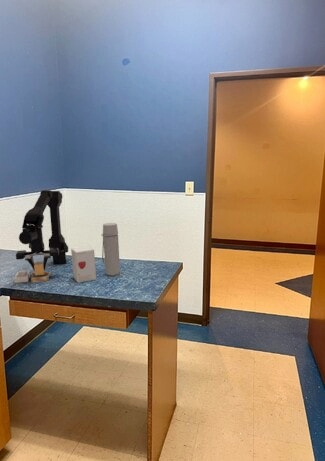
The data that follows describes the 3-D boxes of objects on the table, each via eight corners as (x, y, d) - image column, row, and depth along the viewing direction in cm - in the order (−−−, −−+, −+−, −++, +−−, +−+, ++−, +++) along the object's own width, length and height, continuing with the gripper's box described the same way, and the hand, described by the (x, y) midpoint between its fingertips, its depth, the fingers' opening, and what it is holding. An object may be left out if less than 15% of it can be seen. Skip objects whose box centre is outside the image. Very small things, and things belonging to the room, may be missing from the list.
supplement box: (77, 283, 153) (74, 252, 150) (73, 277, 161) (70, 247, 158) (96, 279, 157) (94, 249, 154) (91, 274, 165) (89, 244, 162)
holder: (49, 275, 165) (49, 271, 164) (48, 280, 157) (47, 276, 157) (33, 276, 163) (32, 273, 162) (31, 282, 155) (30, 278, 155)
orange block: (44, 271, 162) (43, 261, 161) (44, 274, 158) (43, 264, 157) (36, 272, 161) (35, 262, 160) (35, 275, 157) (34, 265, 156)
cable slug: (27, 277, 163) (26, 270, 162) (25, 280, 158) (25, 273, 157) (20, 277, 162) (19, 271, 161) (19, 281, 157) (18, 274, 157)
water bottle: (123, 272, 166) (120, 223, 161) (114, 277, 160) (111, 226, 154) (108, 269, 170) (105, 222, 165) (99, 274, 163) (95, 225, 158)
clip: (30, 275, 164) (29, 271, 164) (28, 281, 157) (27, 276, 156) (17, 277, 163) (16, 272, 162) (14, 282, 155) (14, 277, 155)
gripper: (57, 233, 166) (60, 263, 169) (17, 236, 161) (21, 267, 164) (56, 238, 155) (59, 270, 159) (13, 242, 150) (17, 274, 154)
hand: (39, 270), depth 159 cm, fingers closed on orange block, 4 cm apart
